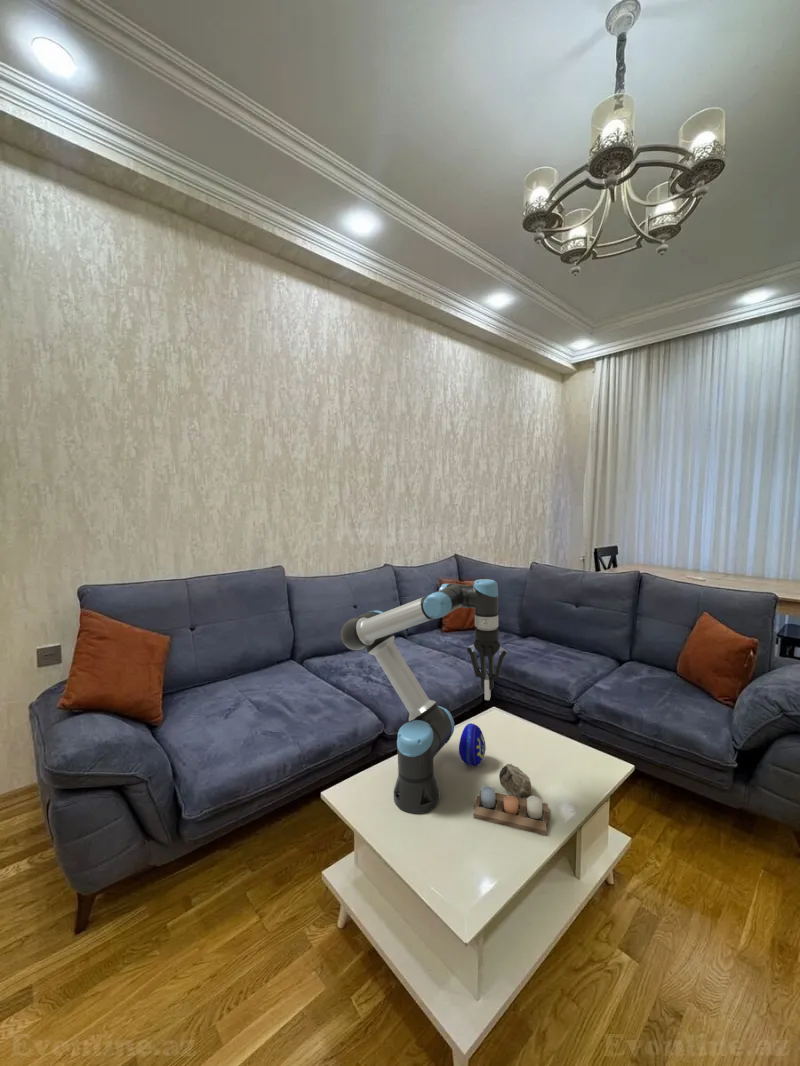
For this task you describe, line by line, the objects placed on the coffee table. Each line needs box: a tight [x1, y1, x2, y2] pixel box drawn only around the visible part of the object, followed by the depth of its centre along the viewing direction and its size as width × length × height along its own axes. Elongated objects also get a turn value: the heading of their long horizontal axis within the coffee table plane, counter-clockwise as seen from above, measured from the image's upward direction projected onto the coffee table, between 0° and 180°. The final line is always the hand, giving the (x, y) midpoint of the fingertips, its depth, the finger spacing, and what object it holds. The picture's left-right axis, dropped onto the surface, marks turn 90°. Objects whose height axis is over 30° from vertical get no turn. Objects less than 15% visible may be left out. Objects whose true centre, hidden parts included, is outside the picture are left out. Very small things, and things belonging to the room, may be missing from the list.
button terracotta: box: [503, 794, 519, 816], centre depth 133 cm, size 4×4×4 cm
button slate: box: [480, 786, 496, 809], centre depth 135 cm, size 4×4×4 cm
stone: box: [499, 763, 533, 799], centre depth 143 cm, size 7×12×7 cm, turn 35°
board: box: [473, 790, 550, 836], centre depth 133 cm, size 22×12×2 cm, turn 68°
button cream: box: [526, 795, 543, 820], centre depth 130 cm, size 4×4×4 cm
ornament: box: [458, 722, 487, 767], centre depth 159 cm, size 11×9×15 cm
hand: (487, 698), depth 140 cm, fingers closed
